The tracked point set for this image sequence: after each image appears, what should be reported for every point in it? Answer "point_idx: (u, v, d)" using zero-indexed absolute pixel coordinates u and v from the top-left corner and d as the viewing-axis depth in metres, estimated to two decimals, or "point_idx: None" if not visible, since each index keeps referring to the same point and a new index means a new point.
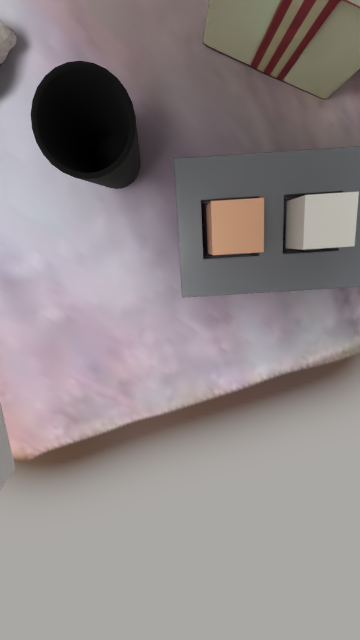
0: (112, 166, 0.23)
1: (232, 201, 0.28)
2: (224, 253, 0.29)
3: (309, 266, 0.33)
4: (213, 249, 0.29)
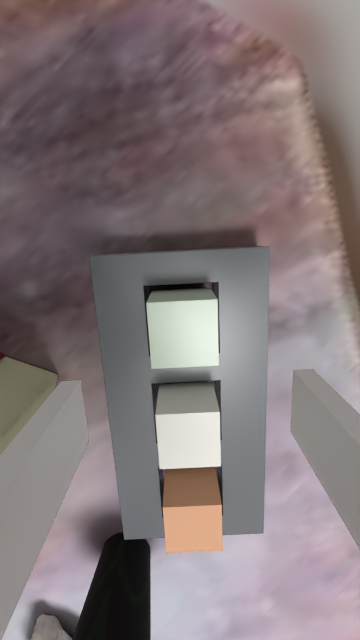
0: None
1: (166, 534, 0.26)
2: (221, 540, 0.26)
3: (237, 411, 0.27)
4: (216, 549, 0.26)
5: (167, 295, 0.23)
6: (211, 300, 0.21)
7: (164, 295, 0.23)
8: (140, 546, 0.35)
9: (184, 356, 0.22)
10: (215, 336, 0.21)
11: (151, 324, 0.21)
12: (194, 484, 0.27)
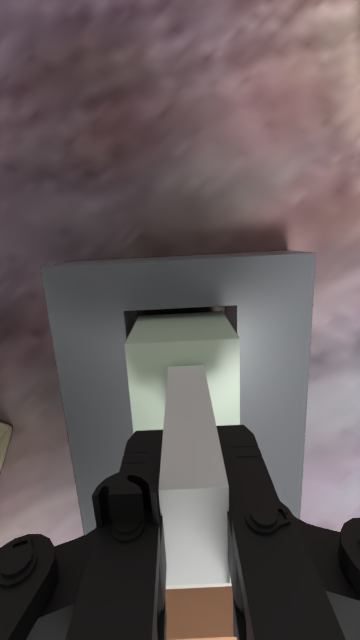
0: None
1: None
2: None
3: None
4: None
5: (159, 326, 0.15)
6: (229, 340, 0.13)
7: (155, 326, 0.15)
8: None
9: None
10: (235, 395, 0.13)
11: (133, 377, 0.13)
12: (200, 591, 0.19)
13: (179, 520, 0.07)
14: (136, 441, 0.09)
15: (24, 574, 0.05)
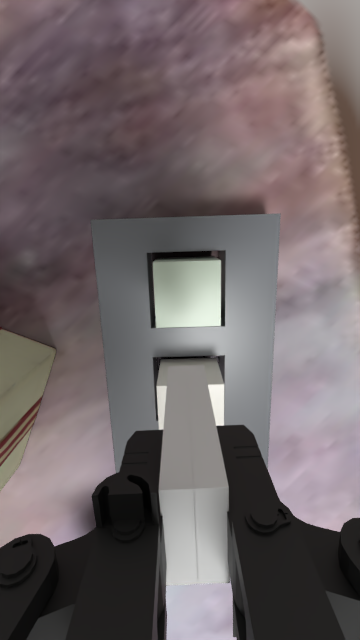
0: None
1: None
2: None
3: (242, 388, 0.26)
4: None
5: (172, 259, 0.24)
6: (215, 261, 0.22)
7: (169, 259, 0.24)
8: None
9: (187, 315, 0.23)
10: (218, 297, 0.22)
11: (156, 283, 0.22)
12: None
13: (179, 520, 0.07)
14: (136, 441, 0.09)
15: (24, 574, 0.05)
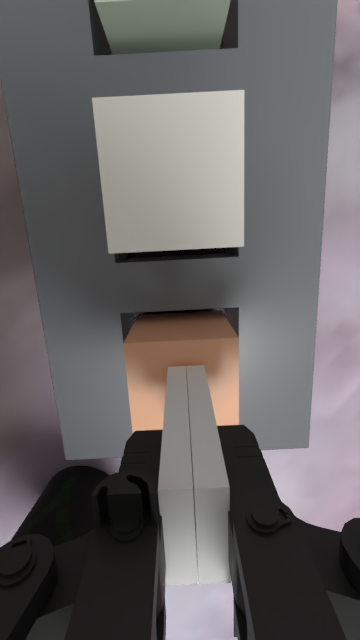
0: None
1: (133, 404, 0.13)
2: (236, 416, 0.14)
3: (270, 190, 0.14)
4: None
5: None
6: None
7: None
8: None
9: None
10: None
11: None
12: (186, 325, 0.15)
13: (178, 520, 0.07)
14: (136, 441, 0.09)
15: (23, 574, 0.05)
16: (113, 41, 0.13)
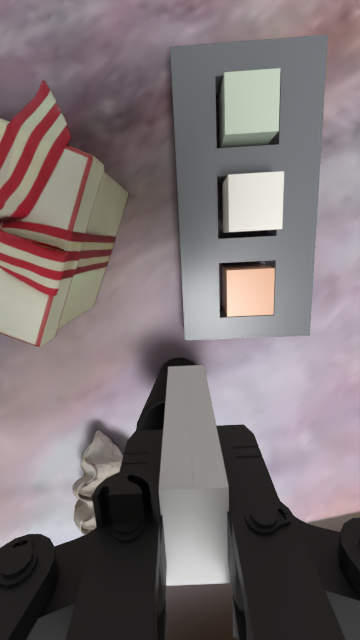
0: None
1: (228, 298, 0.32)
2: (272, 304, 0.32)
3: (292, 205, 0.31)
4: (268, 313, 0.32)
5: None
6: (275, 69, 0.26)
7: None
8: None
9: (251, 122, 0.27)
10: (277, 103, 0.27)
11: (227, 92, 0.27)
12: (249, 267, 0.33)
13: (179, 520, 0.07)
14: (136, 441, 0.09)
15: (24, 574, 0.05)
16: (224, 141, 0.30)
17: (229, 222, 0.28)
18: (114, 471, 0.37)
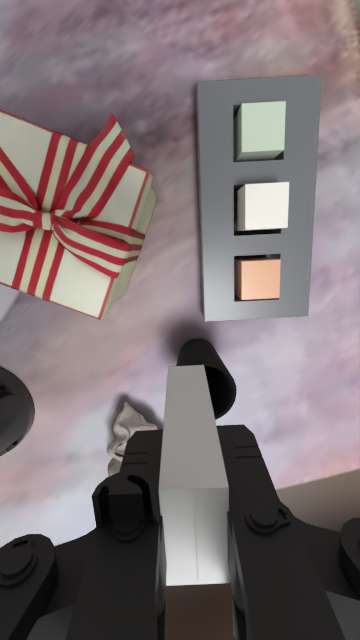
0: (230, 377, 0.35)
1: (242, 284, 0.39)
2: (278, 289, 0.39)
3: (294, 208, 0.38)
4: (275, 297, 0.39)
5: None
6: (282, 101, 0.33)
7: None
8: (210, 344, 0.45)
9: (262, 142, 0.34)
10: (283, 128, 0.34)
11: (243, 118, 0.34)
12: (259, 259, 0.40)
13: (179, 520, 0.07)
14: (136, 441, 0.09)
15: (24, 574, 0.05)
16: (239, 157, 0.37)
17: (245, 222, 0.35)
18: None
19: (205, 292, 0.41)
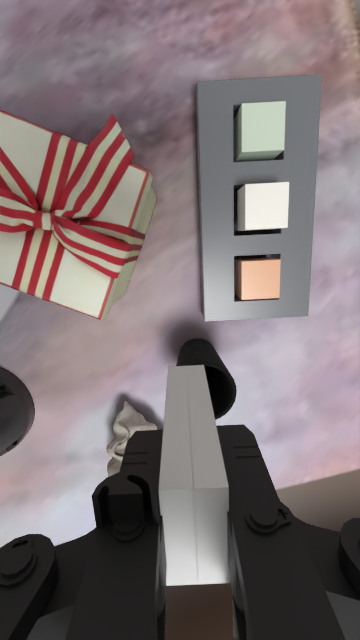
0: (230, 377, 0.35)
1: (242, 284, 0.39)
2: (278, 289, 0.39)
3: (294, 208, 0.38)
4: (275, 297, 0.39)
5: None
6: (282, 101, 0.33)
7: None
8: (210, 344, 0.45)
9: (262, 142, 0.34)
10: (283, 128, 0.34)
11: (243, 118, 0.34)
12: (259, 259, 0.40)
13: (179, 520, 0.07)
14: (136, 441, 0.09)
15: (24, 574, 0.05)
16: (239, 157, 0.37)
17: (245, 222, 0.35)
18: None
19: (205, 292, 0.41)
